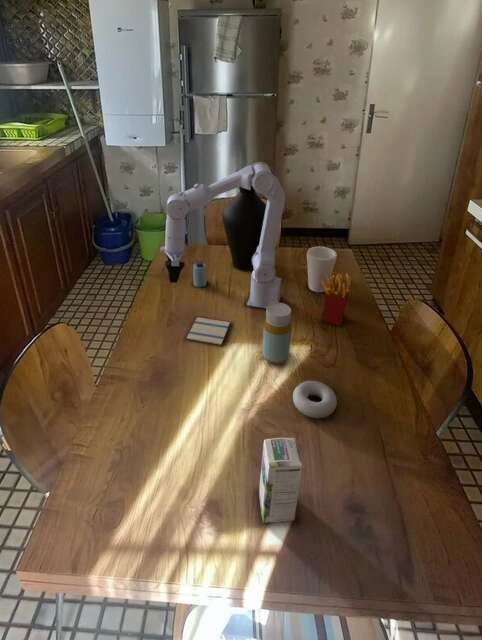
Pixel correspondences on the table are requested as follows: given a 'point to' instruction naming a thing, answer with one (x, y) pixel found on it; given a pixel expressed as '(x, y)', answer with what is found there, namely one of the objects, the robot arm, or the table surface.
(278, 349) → the bottle
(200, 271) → the pepper shaker
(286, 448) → the syrup box
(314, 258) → the foam cup
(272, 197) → the robot arm
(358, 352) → the table surface
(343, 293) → the french fries
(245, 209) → the vase
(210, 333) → the dish cloth
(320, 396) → the donut
